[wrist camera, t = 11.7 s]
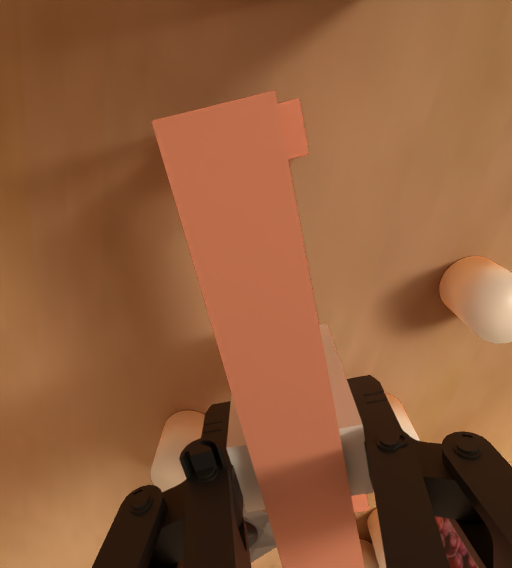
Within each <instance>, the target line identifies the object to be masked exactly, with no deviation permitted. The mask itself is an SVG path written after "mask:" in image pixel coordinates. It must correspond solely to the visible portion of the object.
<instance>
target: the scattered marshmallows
mask: <svg viewBox="0 0 512 568" xmlns="http://www.w3.org/2000/svg"><path fill="white" fill-rule="evenodd" d="M439 294H440V297H441V300H442V301H443V303H444V304H445V305H446V306H447V307H448V308H449V309H450V310H451V311H452V312H453V313H454V314H455V315H456V316H457V317H458V318H460V319H461V320H462V321H463V322H464V323H465V324H466V325H467V326H468V327H469V328H470V329H471V330H472V331H473V332H474V333H475V334H476V335H477V336H478V337H480V338H481V339H483V340H484V341H487V342H490V343H496V344H503V343H509V342H512V272H510V271H508V270H507V269H505V268H503V267H502V266H500V265H498V264H496V263H495V262H493V261H491V260H489V259H487V258H485V257H481V256H470V257H466V258H463V259H460V260H458V261H456V262H455V263H453V264H452V265H451V266H450V267H449V268H448V269H447V270H446V271H445V273H444V274H443V276H442V278H441V281H440V285H439ZM385 395H386V397H387V399H388V401H389V403H390V405H391V407H392V409H393V411H394V413H395V416H396V418H397V420H398V422H399V424H400V426H401V428H402V429H403V431H404V432H406V433H407V434H408V435H409V436H410V437H412V438H413V439H415V440H418V441H420V439H419V437H418V435H417V433H416V432H415V430H414V428H413V426H412V424H411V422H410V420H409V418H408V416H407V414H406V412H405V410H404V408H403V406H402V405H401V403H400V401H399V400H398V399H397V398H395V397H394V396H392V395H390V394H386V393H385ZM204 417H205V415H204V414H202V413H199V412H196V411H190V410H188V411H180V412H177V413H175V414H173V415H172V416H170V417H169V418H168V419H167V421H166V423H165V425H164V428H163V432H162V435H161V438H160V441H159V445H158V448H157V451H156V454H155V458H154V461H153V464H152V467H151V471H150V477H151V481H152V483H153V484H154V486H157V487H158V488H160V489H161V491H162V492H164V491H166V490H168V489H170V488H173V487H175V486H177V485H179V484H180V483H182V482H183V481H185V480H186V476H185V473H184V471H183V468H182V465H181V463H180V460H179V457H180V454H181V452H182V451H183V449H184V448H185V447H186V446H187V445H188V444H190V443H191V442H192V441H195V440H197V439H200V438H201V435H202V429H203V423H204ZM367 525H368V528H369V532H370V536H371V539H372V543H373V544H372V543H370V542H368V541H366V540H362V539H359V540H360V545H361V551H362V556H363V561H364V567H365V568H386V563H385V556H384V550H383V544H382V538H381V531H380V525H379V519H378V513H377V508H376V509H375V510H373V511H372V512H371V513H370V515H369V517H368V520H367Z"/></svg>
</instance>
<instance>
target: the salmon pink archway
mask: <svg viewBox="0 0 512 568" xmlns="http://www.w3.org/2000/svg"><path fill="white" fill-rule="evenodd" d="M151 122H152V125H153V129H154V132H155V135H156V139H157V142H158V146H159V149H160V152H161V156H162V159H163V163H164V166H165V169H166V173H167V176H168V180H169V183H170V186H171V190H172V193H173V196H174V200H175V203H176V207H177V210H178V213H179V217H180V220H181V224H182V227H183V230H184V234H185V237H186V241H187V244H188V247H189V251H190V254H191V258H192V261H193V264H194V268H195V271H196V274H197V278H198V281H199V285H200V288H201V291H202V295H203V298H204V302H205V305H206V308H207V312H208V315H209V319H210V322H211V325H212V329H213V332H214V336H215V339H216V342H217V346H218V349H219V352H220V356H221V359H222V363H223V366H224V369H225V373H226V376H227V380H228V383H229V386H230V390H231V393H232V397H233V400H234V403H235V407H236V410H237V414H238V417H239V420H240V424H241V427H242V430H243V434H244V437H245V441H246V444H247V447H248V451H249V454H250V458H251V461H252V464H253V468H254V471H255V475H256V478H257V481H258V485H259V488H260V491H261V495H262V498H263V502H264V505H265V508H266V512H267V515H268V519H269V522H270V525H271V529H272V532H273V536H274V539H275V542H276V546H277V549H278V553H279V556H280V559H281V563H282V566H283V568H365V567H364V561H363V556H362V551H361V545H360V540H359V535H358V529H357V524H356V519H355V513H356V512H362V511H369V507H368V501H367V495H366V494H360V495H354V496H351V492H350V487H349V481H348V476H347V471H346V465H345V460H344V455H343V449H342V444H341V439H340V433H339V428H338V423H337V417H336V412H335V407H334V401H333V396H332V391H331V385H330V380H329V375H328V369H327V364H326V359H325V353H324V348H323V343H322V337H321V332H320V327H319V321H318V316H317V311H316V305H315V300H314V295H313V289H312V284H311V279H310V273H309V268H308V263H307V257H306V252H305V247H304V241H303V236H302V231H301V225H300V220H299V215H298V209H297V204H296V199H295V193H294V188H293V183H292V177H291V172H290V167H289V161H288V159H292V158H296V157H300V156H305V155H309V151H308V145H307V140H306V134H305V128H304V122H303V116H302V110H301V104H300V98H298V99H294V100H290V101H286V102H282V103H277V97H276V92H275V90H273V91H269V92H265V93H261V94H257V95H253V96H249V97H245V98H241V99H237V100H233V101H229V102H225V103H221V104H217V105H213V106H209V107H205V108H201V109H197V110H193V111H188V112H184V113H180V114H176V115H172V116H168V117H164V118H160V119H156V120H152V121H151Z"/></svg>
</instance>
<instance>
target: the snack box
mask: <svg viewBox="0 0 512 568" xmlns="http://www.w3.org/2000/svg"><path fill="white" fill-rule="evenodd" d="M435 519H436V522H437V525H438V529H439V532H440V535H441V539H442V542H443V545H444V549H445V552H446V555H447V559H448V562H449V565H450V568H478V566H477V564H476V563H475V561H474V560H473V558H472V556H471V555H470V553H469V552H468V550H467V548H466V547H465V545H464V543H463V542H462V540H461V539H460V537H459V535H458V534H457V532H456V531H455V529H454V527H453V526H452V524H451V522H450V521H449V519H448V518H443V517H437V516H436V517H435Z"/></svg>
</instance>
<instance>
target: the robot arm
mask: <svg viewBox="0 0 512 568" xmlns="http://www.w3.org/2000/svg"><path fill="white" fill-rule="evenodd" d="M319 327H320V332H321V337H322V343H323V348H324V353H325V359H326V364H327V369H328V375H329V380H330V385H331V391H332V396H333V401H334V407H335V412H336V417H337V423H338V428H339V433H340V439H341V444H342V449H343V455H344V460H345V465H346V471H347V476H348V481H349V487H350V492H351V496H354V495H360V494H366V493H372V492H373V490H374V493H375V500H376V506H377V513H378V519H379V525H380V531H381V538H382V544H383V550H384V556H385V563H386V568H450V565H449V562H448V559H447V555H446V552H445V549H444V545H443V542H442V539H441V535H440V532H439V529H438V525H437V522H436V519H435V516H437V517H443V518H448V519H449V521H450V522H451V524H452V526H453V527H454V529H455V531H456V532H457V534H458V535H459V537H460V539H461V540H462V542H463V543H464V545H465V547H466V548H467V550H468V552H469V553H470V555H471V556H472V558H473V560H474V561H475V563H476V564H477V566H478V568H512V467H511V465H510V464H509V463H508V462H507V461H506V460H505V459H504V458H503V457H502V456H501V454H500V453H499V452H498V451H497V450H496V449H495V448H494V447H493V446H492V445H491V443H490V442H488V441H487V440H486V439H485V438H483V437H482V436H479V435H477V434H474V433H470V432H454V433H452V434H450V435H447V436H446V437H445V439H444V440H443V442H442V444H437V443H427V442H421V441H418V440H415V439H413V438H412V437H410V436H409V435H408V434H407V433H406V432H404V431H403V429H402V428H401V426H400V424H399V422H398V420H397V418H396V416H395V413H394V411H393V409H392V407H391V405H390V403H389V401H388V399H387V397H386V395H385V393H384V390H383V388H382V386H381V384H380V382H379V381H377V380H376V379H375V378H374V377H372V376H371V375H367V376H361V377H356V378H350V379H346V376H345V373H344V370H343V368H342V365H341V362H340V359H339V356H338V353H337V351H336V348H335V345H334V342H333V339H332V336H331V334H330V331H329V328H328V325H327V323H324V324H319ZM179 460H180V463H181V465H182V468H183V471H184V473H185V476H186V480H185V481H183V482H182V483H180V484H179V485H177V486H175V487H173V488H170V489H168V490H166V491H164V492H162V491H161V489H160V488H158V487H157V486H154V485H146V486H142V487H140V488H138V489H136V490H134V491H132V492H131V493H130V494H129V495H128V496H127V497H126V498H125V500H124V501H123V503H122V504H121V506H120V508H119V510H118V513H117V515H116V517H115V519H114V521H113V523H112V525H111V528H110V530H109V532H108V534H107V536H106V538H105V540H104V543H103V545H102V547H101V549H100V551H99V553H98V556H97V558H96V560H95V562H94V564H93V566H92V568H251V562H250V553H249V545H248V536H247V528H246V524H245V521H244V517H243V503H244V506H245V509H246V512H253V511H259V510H266V508H265V505H264V502H263V498H262V495H261V491H260V488H259V485H258V481H257V478H256V475H255V471H254V468H253V464H252V461H251V458H250V454H249V451H248V447H247V444H246V441H245V437H244V434H243V430H242V427H241V424H240V420H239V417H238V414H237V410H236V407H235V403H234V400H233V397H232V393H231V401H229V402H224V403H218V404H213V405H211V406H210V408H209V409H208V411H207V412H206V414H205V417H204V423H203V429H202V435H201V438H200V439H197V440H195V441H192V442H191V443H190V444H188V445H187V446H186V447H185V448H184V449H183V451H182V452H181V454H180V457H179ZM372 487H373V488H372Z"/></svg>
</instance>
